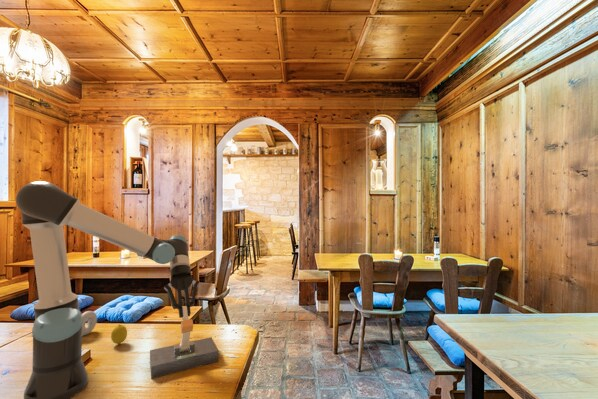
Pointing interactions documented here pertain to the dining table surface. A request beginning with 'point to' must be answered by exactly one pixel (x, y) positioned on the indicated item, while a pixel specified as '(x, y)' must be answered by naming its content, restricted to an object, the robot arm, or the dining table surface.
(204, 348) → the box
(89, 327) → the donut
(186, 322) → the lever
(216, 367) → the dining table surface
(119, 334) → the lemon
